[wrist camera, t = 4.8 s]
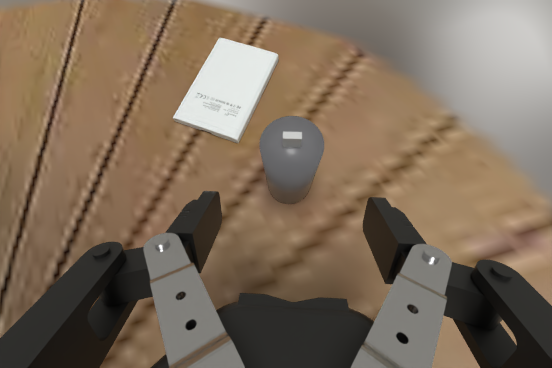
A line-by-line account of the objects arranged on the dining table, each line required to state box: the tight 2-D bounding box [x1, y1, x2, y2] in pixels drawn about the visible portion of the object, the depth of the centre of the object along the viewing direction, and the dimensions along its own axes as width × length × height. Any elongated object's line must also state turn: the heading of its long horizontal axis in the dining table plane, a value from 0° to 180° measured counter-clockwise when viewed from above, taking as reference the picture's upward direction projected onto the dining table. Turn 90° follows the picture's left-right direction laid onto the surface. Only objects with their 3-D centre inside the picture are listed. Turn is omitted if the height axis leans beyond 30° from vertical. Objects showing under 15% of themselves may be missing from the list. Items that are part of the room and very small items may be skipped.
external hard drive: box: [173, 38, 278, 143], centre depth 28 cm, size 2×8×12 cm
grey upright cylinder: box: [260, 116, 324, 204], centre depth 20 cm, size 4×4×10 cm
